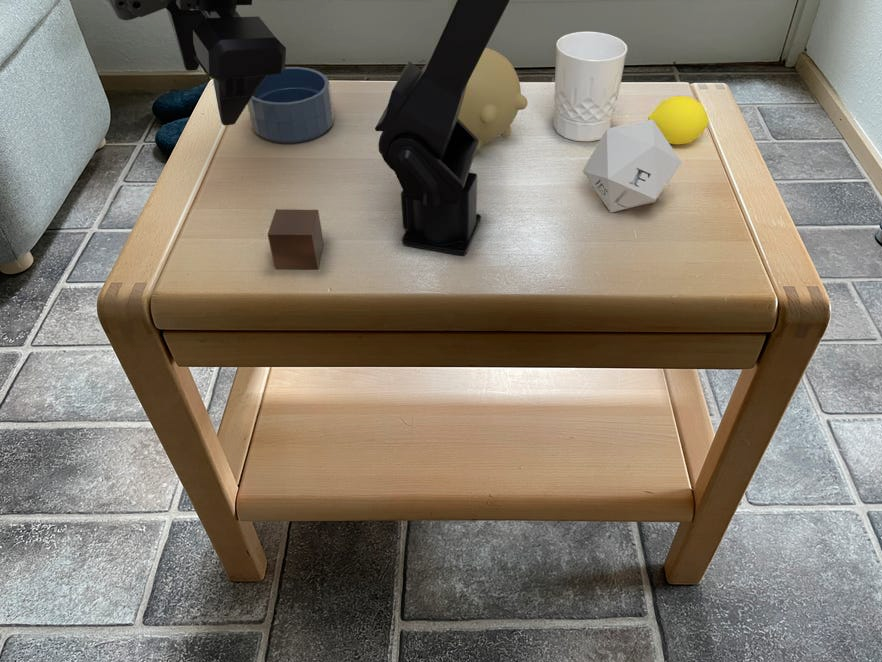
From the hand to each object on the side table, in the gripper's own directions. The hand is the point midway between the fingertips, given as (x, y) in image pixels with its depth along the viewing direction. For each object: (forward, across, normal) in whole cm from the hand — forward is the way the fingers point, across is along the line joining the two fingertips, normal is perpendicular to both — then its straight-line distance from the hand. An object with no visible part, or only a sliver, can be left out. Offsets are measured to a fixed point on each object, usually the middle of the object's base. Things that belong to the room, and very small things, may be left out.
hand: (209, 96), depth 68 cm
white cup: (+4, +7, +42) cm, 43 cm away
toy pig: (+7, +2, +30) cm, 31 cm away
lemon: (+2, +15, +50) cm, 52 cm away
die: (+3, +22, +36) cm, 42 cm away
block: (+10, +13, +4) cm, 16 cm away
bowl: (+12, -11, +14) cm, 22 cm away
